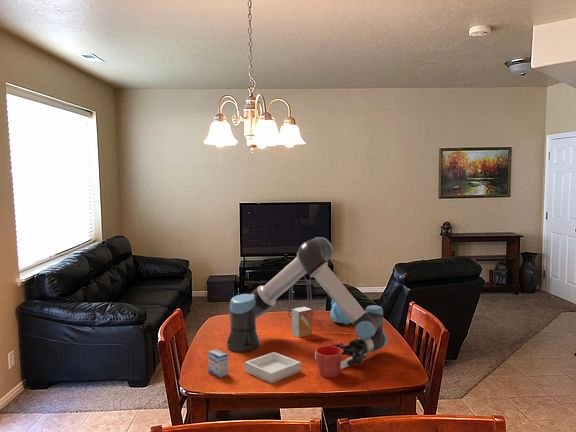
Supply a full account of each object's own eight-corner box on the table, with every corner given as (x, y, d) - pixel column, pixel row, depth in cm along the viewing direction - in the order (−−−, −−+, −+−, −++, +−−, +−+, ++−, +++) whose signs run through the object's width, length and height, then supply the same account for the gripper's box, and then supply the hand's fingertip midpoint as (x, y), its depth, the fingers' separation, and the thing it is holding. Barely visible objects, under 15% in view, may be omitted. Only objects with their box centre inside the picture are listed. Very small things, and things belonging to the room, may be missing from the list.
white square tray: (271, 383, 187) (271, 373, 187) (244, 371, 199) (244, 362, 199) (300, 371, 198) (300, 362, 198) (273, 360, 210) (273, 351, 210)
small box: (298, 337, 239) (298, 311, 238) (291, 334, 244) (291, 308, 243) (312, 334, 243) (312, 309, 242) (304, 331, 249) (304, 306, 248)
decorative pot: (361, 326, 255) (361, 301, 254) (330, 326, 257) (330, 300, 256) (359, 317, 272) (360, 293, 270) (330, 316, 273) (330, 292, 272)
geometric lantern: (286, 326, 257) (285, 260, 254) (286, 318, 272) (284, 256, 270) (316, 325, 257) (315, 259, 255) (314, 317, 273) (313, 255, 270)
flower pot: (313, 378, 192) (313, 354, 191) (318, 367, 203) (318, 344, 202) (340, 380, 190) (340, 356, 189) (343, 369, 200) (344, 346, 200)
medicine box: (207, 372, 199) (207, 351, 198) (216, 369, 202) (216, 348, 201) (219, 377, 193) (219, 356, 192) (228, 374, 196) (228, 353, 195)
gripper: (385, 363, 201) (352, 378, 186) (338, 348, 219) (305, 361, 204) (385, 345, 200) (352, 359, 186) (338, 331, 218) (305, 343, 203)
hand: (327, 360), depth 195 cm, fingers open, 13 cm apart
